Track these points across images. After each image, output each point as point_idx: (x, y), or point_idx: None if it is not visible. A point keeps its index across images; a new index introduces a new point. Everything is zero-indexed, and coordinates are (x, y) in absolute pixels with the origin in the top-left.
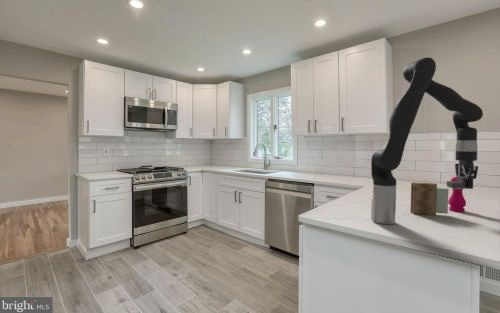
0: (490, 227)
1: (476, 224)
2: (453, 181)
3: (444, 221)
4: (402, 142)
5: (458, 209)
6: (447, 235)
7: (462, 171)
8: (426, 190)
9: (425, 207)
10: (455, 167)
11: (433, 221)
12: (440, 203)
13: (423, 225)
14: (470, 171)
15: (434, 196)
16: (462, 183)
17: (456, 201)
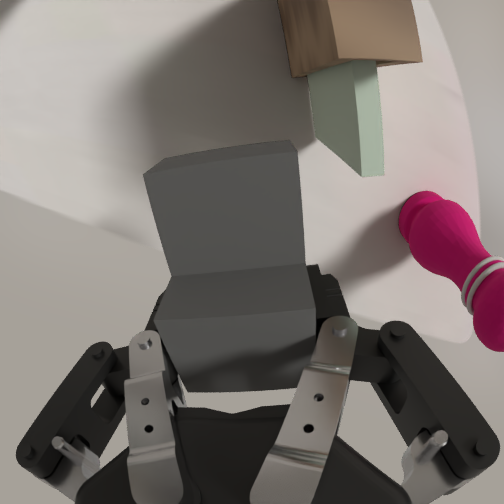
0: None
1: None
2: (287, 226)
3: (181, 90)
4: None
5: (405, 219)
6: (12, 89)
7: (253, 411)
8: None
9: (287, 20)
10: (467, 409)
11: (158, 45)
12: (323, 104)
13: (80, 15)
14: (46, 407)
15: (308, 55)
16: (172, 272)
17: (424, 229)
